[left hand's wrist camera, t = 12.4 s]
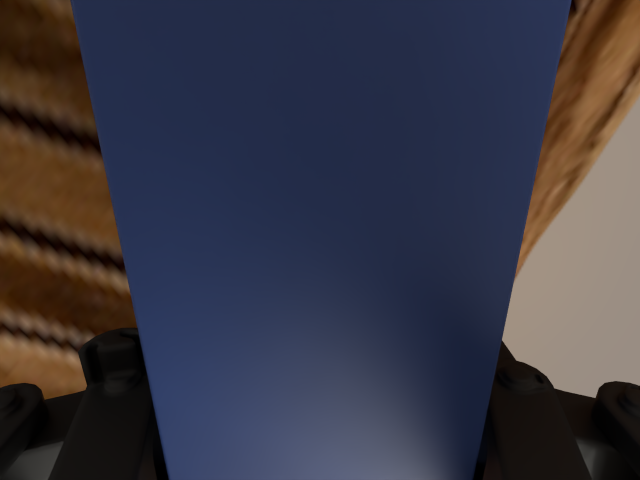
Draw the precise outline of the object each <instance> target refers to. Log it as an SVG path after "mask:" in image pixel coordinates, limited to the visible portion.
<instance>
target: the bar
mask: <svg viewBox="0 0 640 480" xmlns="http://www.w3.org/2000/svg"><path fill="white" fill-rule="evenodd" d="M71 5H72V10H73V15H74V20H75V25H76V30H77V34H78V39H79V44H80V49H81V54H82V59H83V64H84V69H85V73H86V78H87V83H88V88H89V93H90V98H91V103H92V108H93V112H94V117H95V122H96V127H97V132H98V137H99V142H100V147H101V152H102V156H103V161H104V166H105V171H106V176H107V181H108V186H109V191H110V195H111V200H112V205H113V210H114V215H115V220H116V225H117V230H118V234H119V239H120V244H121V249H122V254H123V259H124V264H125V269H126V273H127V278H128V283H129V288H130V293H131V298H132V303H133V308H134V313H135V317H136V322H137V327H138V332H139V337H140V342H141V347H142V352H143V356H144V361H145V366H146V371H147V376H148V381H149V386H150V391H151V395H152V400H153V405H154V410H155V415H156V420H157V425H158V430H159V435H160V439H161V444H162V449H163V454H164V459H165V464H166V469H167V474H168V478H169V480H473V478H474V473H475V468H476V463H477V458H478V453H479V448H480V443H481V439H482V434H483V429H484V424H485V419H486V414H487V409H488V404H489V400H490V395H491V390H492V385H493V380H494V375H495V370H496V365H497V361H498V356H499V351H500V346H501V341H502V336H503V331H504V326H505V321H506V317H507V312H508V307H509V302H510V297H511V292H512V287H513V283H514V278H515V273H516V268H517V263H518V258H519V253H520V248H521V244H522V239H523V234H524V229H525V224H526V219H527V214H528V209H529V205H530V200H531V195H532V190H533V185H534V180H535V175H536V170H537V165H538V161H539V156H540V151H541V146H542V141H543V136H544V131H545V126H546V122H547V117H548V112H549V107H550V102H551V97H552V92H553V87H554V83H555V78H556V73H557V68H558V63H559V58H560V53H561V48H562V44H563V39H564V34H565V29H566V24H567V19H568V14H569V9H570V5H571V0H71Z"/></svg>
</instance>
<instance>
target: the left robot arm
mask: <svg viewBox="0 0 640 480" xmlns="http://www.w3.org/2000/svg"><path fill="white" fill-rule="evenodd" d="M78 354H79V358H80V361H81V365H82V369H83V372H84V376H85V379H86V383H87V388H86V390H84V391H81V392H77V393H73V394H69V395H64V396H60V397H55V398H51V399H46V400H44V397H43V394H42V391H41V389H40V388H39V387H37V386H36V385H34V384H28V383H20V384H12V385H8V386H4V387H2V388H0V480H169V478H168V474H167V469H166V464H165V459H164V454H163V449H162V444H161V439H160V435H159V430H158V425H157V420H156V415H155V410H154V405H153V400H152V395H151V391H150V386H149V381H148V376H147V371H146V366H145V361H144V356H143V352H142V347H141V342H140V337H139V332H138V328H120V329H116V330H111V331H108V332H105V333H103V334H100V335H98V336H96V337H94V338H93V339H91V340H90V341H88V342H87V343H85V344H84V345H83V346H82V348H81V349H80V350H79V351H78ZM473 480H640V386H638V385H635V384H632V383H626V382H618V381H614V382H608V383H604V384H603V385H602V386H601V387H600V388H599V390H598V392H597V396H596V398H592V397H588V396H583V395H579V394H574V393H570V392H565V391H562V390H558V389H554V387H553V385H552V384H551V382H550V381H549V379H548V378H547V376H545V375H544V374H543V373H541V372H540V371H539V370H538V369H536V368H534V367H532V366H530V365H528V364H526V363H523V362H519V361H516V360H515V358H514V357H513V355H512V354H511V352H510V351H509V350H508V348H507V347H506V345H505V344H504V342H503V341H501V346H500V351H499V356H498V361H497V365H496V370H495V375H494V380H493V385H492V390H491V395H490V400H489V404H488V409H487V414H486V419H485V424H484V429H483V434H482V439H481V443H480V448H479V453H478V458H477V463H476V468H475V473H474V478H473Z"/></svg>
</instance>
